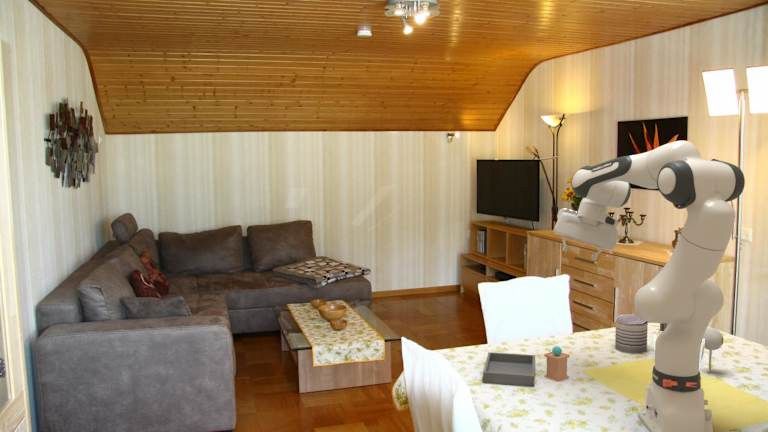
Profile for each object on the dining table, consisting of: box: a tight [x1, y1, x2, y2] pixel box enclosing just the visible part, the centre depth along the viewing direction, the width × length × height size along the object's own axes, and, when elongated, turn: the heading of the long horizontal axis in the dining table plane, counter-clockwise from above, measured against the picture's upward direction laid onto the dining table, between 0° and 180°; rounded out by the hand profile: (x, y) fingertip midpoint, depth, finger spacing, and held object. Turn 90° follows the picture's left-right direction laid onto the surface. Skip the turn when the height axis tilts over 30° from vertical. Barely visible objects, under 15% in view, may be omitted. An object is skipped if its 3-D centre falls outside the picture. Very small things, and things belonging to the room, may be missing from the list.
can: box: [614, 313, 649, 355], centre depth 233 cm, size 11×11×12 cm
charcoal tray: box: [482, 351, 536, 387], centre depth 211 cm, size 20×16×4 cm
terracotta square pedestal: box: [543, 351, 570, 382], centre depth 207 cm, size 6×6×8 cm
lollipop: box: [703, 327, 724, 374], centre depth 208 cm, size 7×7×15 cm
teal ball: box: [551, 345, 563, 356], centre depth 207 cm, size 3×3×3 cm
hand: (578, 255), depth 209 cm, fingers open, 8 cm apart
